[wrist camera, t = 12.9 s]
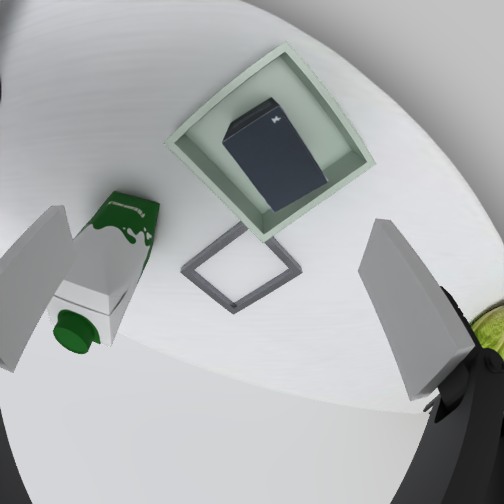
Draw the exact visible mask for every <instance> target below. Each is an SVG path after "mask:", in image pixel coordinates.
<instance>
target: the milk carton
mask: <svg viewBox="0 0 504 504" xmlns="http://www.w3.org/2000/svg"><path fill="white" fill-rule="evenodd" d="M159 205H160V204H158V203H155V202H151V201H147V200H144V199H140V198H137V197H133V196H129V195H126V194H122V193H118V192H113V193H112V194H111V195H110V196H109V198H108V199H107V200H106V201H105V203H104V204H103V205H102V206H101V207H100V209H99V210H98V211H97V213H96V214H95V215H94V216H93V217H92V218H91V220H90V221H89V222H88V223H87V224H86V225H85V226H84V227H83V229H82V230H81V231H80V232H79V233H78V234H77V235H76V237H75V238H74V239H73V243H74V246H75V249H76V252H77V256H78V259H77V260H76V261H75V263H74V264H73V266H72V267H71V269H70V270H69V272H68V273H67V275H66V276H65V278H64V280H63V281H62V283H61V284H60V286H59V287H58V289H57V291H56V292H55V294H54V296H53V297H52V299H51V301H50V302H49V304H48V306H47V307H46V308H47V312H48V315H49V319H50V322H51V324H53V325H55V328H54V330H53V334H54V336H55V338H56V340H57V341H58V342H59V343H60V344H61V345H62V346H64V347H65V348H67V349H68V350H70V351H72V352H74V353H78V354H85V353H87V352H88V350H89V347H90V345H91V343H92V341H94V342H96V343H99V344H101V343H102V344H104V345H106V346H110V347H111V346H112V344H113V341H114V338H115V335H116V333H117V330H118V328H119V325H120V323H121V320H122V318H123V316H124V313H125V311H126V309H127V306H128V304H129V302H130V300H131V297H132V295H133V293H134V290H135V288H136V286H137V284H138V281H139V279H140V277H141V275H142V273H143V270H144V268H145V266H146V264H147V262H148V259H149V257H150V253H151V249H152V245H153V238H154V233H155V227H156V221H157V216H158V210H159Z"/></svg>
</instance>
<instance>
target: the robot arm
mask: <svg viewBox="0 0 504 504" xmlns="http://www.w3.org/2000/svg"><path fill="white" fill-rule="evenodd" d="M0 95H1V84H0ZM77 259H78V256H77V252H76V249H75V246H74V243H73V239H72V236H71V232H70V228H69V224H68V221H67V217H66V212H65V208H64V206H51V207H50V208H49V209H48V210H47V211H46V212H44V213H43V214H42V215H41V216H40V217H39V218H38V219H37V220H36V221H35V222H34V223H33V224H32V225H31V226H30V227H29V228H28V229H27V230H26V231H25V232H24V233H23V234H22V235H21V237H20V238H19V239H18V240H17V241H16V242H15V243H14V244H13V245H12V246H11V247H10V249H9V250H8V251H7V252H6V253H5V254H4V255H3V257H2V258H1V259H0V367H1V368H3V369H6V370H8V371H10V372H14V370H15V368H16V365H17V363H18V361H19V359H20V357H21V355H22V353H23V351H24V348H25V346H26V344H27V342H28V340H29V338H30V337H31V335H32V333H33V331H34V329H35V327H36V325H37V323H38V322H39V320H40V318H41V316H42V314H43V313H44V311H45V309H46V307H47V306H48V304H49V302H50V301H51V299H52V297H53V296H54V294H55V292H56V291H57V289H58V287H59V286H60V284H61V283H62V281H63V280H64V278H65V276H66V275H67V273H68V272H69V270H70V269H71V267H72V266H73V264H74V263H75V261H76V260H77ZM358 273H359V275H360V277H361V279H362V281H363V283H364V286H365V288H366V290H367V292H368V294H369V297H370V299H371V301H372V303H373V306H374V308H375V310H376V313H377V315H378V317H379V320H380V322H381V324H382V327H383V329H384V332H385V334H386V336H387V339H388V341H389V344H390V347H391V349H392V352H393V354H394V357H395V360H396V362H397V365H398V368H399V370H400V373H401V376H402V379H403V381H404V384H405V387H406V390H407V393H408V396H409V399H410V401H412V400H416V399H420V398H424V397H427V396H428V395H430V394H431V393H432V392H433V391H434V390H435V389H436V388H437V387H438V390H439V392H440V394H439V395H438V396H437V397H435V398H434V399H433V400H432V401H431V402H430V403H429V404H428V405H427V406H426V407H425V408H424V410H423V411H424V412H426V411H427V410H428V409H429V408H431V407H432V406H433V407H432V411H430V413H429V414H430V417H429V419H428V422H427V425H426V428H425V431H424V433H423V436H422V438H421V441H420V443H419V446H418V448H417V451H416V453H415V455H414V458H413V460H412V462H411V464H410V466H409V469H408V471H407V473H406V475H405V477H404V479H403V481H402V483H401V485H400V487H399V489H398V490H397V492H396V494H395V496H394V498H393V500H392V501H391V503H390V504H504V360H503V358H502V357H501V356H500V354H499V353H498V352H496V351H495V350H494V349H491V348H483V347H482V346H481V344H480V342H479V340H478V338H477V337H476V335H475V333H474V331H473V330H472V328H471V326H470V324H469V323H468V321H467V319H466V318H465V317H463V313H462V311H461V310H460V308H458V305H457V303H456V302H455V300H454V299H453V297H452V296H451V295H450V294H449V293H448V292H447V291H446V290H445V289H444V288H443V287H442V286H439V284H438V283H437V281H436V280H435V279H434V277H433V276H432V274H431V273H430V271H429V270H428V268H427V267H426V266H425V264H424V263H423V262H422V260H421V259H420V257H419V256H418V255H417V253H416V252H415V251H414V249H413V248H412V247H411V245H410V244H409V243H408V241H407V240H406V239H405V238H404V236H403V235H402V234H401V233H400V231H399V230H398V229H397V227H396V226H395V225H394V224H393V223H392V221H391V220H384V219H375V222H374V225H373V228H372V231H371V234H370V237H369V240H368V244H367V247H366V249H365V252H364V255H363V258H362V261H361V264H360V267H359V269H358ZM0 504H32V502H31V500H30V498H29V495H28V493H27V491H26V489H25V486H24V484H23V482H22V479H21V477H20V474H19V471H18V469H17V466H16V463H15V460H14V457H13V454H12V451H11V448H10V445H9V442H8V438H7V434H6V430H5V426H4V423H3V418H2V414H1V409H0Z"/></svg>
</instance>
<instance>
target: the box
mask: <svg viewBox="0 0 504 504" xmlns="http://www.w3.org/2000/svg"><path fill="white" fill-rule="evenodd" d="M222 144H223V146H224V147H225V148H226V150H227V151H228V152H229V153H230V155H231V156H232V157H233V158H234V160H235V161H236V162H237V164H238V165H239V166H240V168H241V169H242V170H243V172H244V173H245V174H246V176H247V177H248V178H249V180H250V181H251V182H252V184H253V185H254V186H255V188H256V189H257V190H258V192H259V193H260V194H261V196H262V197H263V198H264V200H265V201H266V203H267V204H268V205H269V207H270V208H271V210H272V211H273V212H274V213H275V212H277V211H279V210H281V209H282V208H284V207H286V206H288V205H289V204H291V203H293V202H294V201H296V200H298V199H300V198H301V197H303V196H305V195H307V194H308V193H310V192H312V191H314V190H315V189H317V188H319V187H321V186H323V185H325V184H327V183H328V179H327V177H326V176H325V174H324V173H323V171H322V170H321V168H320V167H319V165H318V163H317V162H316V160H315V159H314V157H313V155H312V154H311V152H310V151H309V149H308V147H307V146H306V144H305V143H304V141H303V139H302V138H301V136H300V135H299V133H298V132H297V130H296V129H295V127H294V126H293V124H292V122H291V121H290V119H289V118H288V116H287V115H286V113H285V111H284V110H283V108H282V107H281V106H280V105H279V104H278V103H277V102H276V101H275V100H274V99H273V98H272V97H271V98H269V99H267V100H265V101H264V102H262V103H261V104H259V105H257V106H256V107H254V108H253V109H251V110H249V111H248V112H246V113H245V114H243V115H242V116H240V117H238V118H237V119H235V120H234V121H232V122H231V123H230V125H229V127H228V129H227V132H226V134H225V136H224V138H223V141H222Z"/></svg>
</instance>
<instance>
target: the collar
mask: <svg viewBox="0 0 504 504" xmlns="http://www.w3.org/2000/svg"><path fill="white" fill-rule="evenodd" d="M248 229H249V228H248V227H247V226H246V225H245V224H244V223H243V222H242V221H241V222H240V223H238V224H237V225H236V226H234V227H233V228H232V229H230V230H229V231H228V232H227V233H225V234H224V235H223V236H221V237H220V238H219V239H217V240H216V241H215V242H214V243H212V244H211V245H210V246H208V247H207V248H206V249H205V250H203V251H202V252H201V253H199V254H198V255H197V256H196V257H194V258H193V259H192V260H190V261H189V262H188V263H187V264H185V265H184V266H183V267H182V269H181V273H182V274H183V275H184V276H185V277H187V278H188V279H189V280H190V281H192V282H193V283H194V284H195V285H196V286H198V287H199V288H200V289H201V290H203V291H204V292H205V293H206V294H208V295H209V296H210V297H211V298H213V299H214V300H215V301H216V302H218V303H219V304H220V305H222V306H223V307H224V308H225V309H227V310H228V311H229V312H231V313H232V314H235V313H237V312H239V311H240V310H242V309H244V308H245V307H247V306H249V305H250V304H252V303H254V302H256V301H257V300H259V299H261V298H262V297H264V296H266V295H267V294H269V293H270V292H272V291H274V290H275V289H277V288H279V287H280V286H282V285H284V284H285V283H287V282H288V281H290V280H292V279H293V278H295V277H296V276H298V275H300V274H301V273H302V269H301V267H300V266H299V265H298V264H297V263H296V261H295V260H294V259H293V258H292V257H291V256H290V255H289V254H288V253H287V252H286V251H285V250H284V248H283V247H282V246H281V245H280V244H279V243H278V242H277V241H276V240H275V239H274V238H273V237H271V238H269V239H268V240H267V241H265V242H264V243H265V244H266V245H267V246H268V247H269V248H270V249H271V250H272V251H273V252H274V253H275V254H276V255H277V256H278V257H279V258H280V259H281V260H282V261H283V262H284V263H285V265H286V266H287V267H288V268H289V269H288V270H287V271H285V272H284V273H282V274H280V275H279V276H277V277H276V278H274V279H273V280H271V281H269V282H268V283H266V284H265V285H263V286H261V287H260V288H258V289H257V290H255V291H253V292H252V293H250V294H248V295H247V296H245V297H244V298H242V299H240V300H239V301H237V302H235V303H233V302H232V301H230V300H229V299H228V298H227V297H225V296H224V295H223V294H222V293H221V292H219V291H218V290H217V289H216V288H214V287H213V286H212V285H211V284H210V283H208V282H207V281H206V280H205V279H204V278H202V277H201V276H200V275H199V274H198V273H196V272H195V271H194V269H196V268H197V267H198V266H200V265H201V264H202V263H204V262H205V261H206V260H208V259H209V258H210V257H212V256H213V255H214V254H216V253H217V252H218V251H220V250H221V249H222V248H224V247H225V246H226V245H228V244H229V243H230V242H232V241H233V240H234V239H236V238H237V237H239V236H240V235H241V234H243V233H244V232H245V231H247V230H248Z"/></svg>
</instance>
